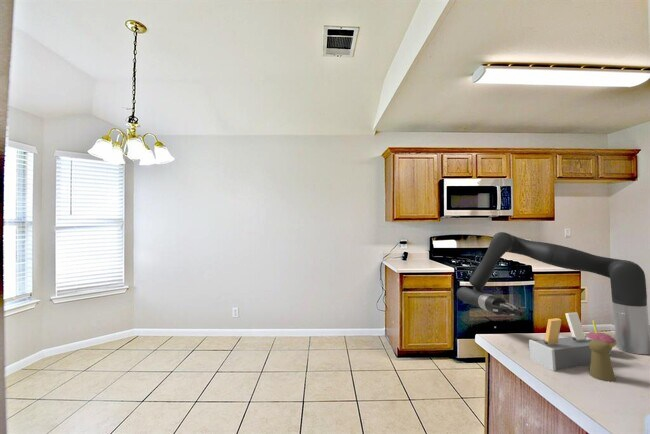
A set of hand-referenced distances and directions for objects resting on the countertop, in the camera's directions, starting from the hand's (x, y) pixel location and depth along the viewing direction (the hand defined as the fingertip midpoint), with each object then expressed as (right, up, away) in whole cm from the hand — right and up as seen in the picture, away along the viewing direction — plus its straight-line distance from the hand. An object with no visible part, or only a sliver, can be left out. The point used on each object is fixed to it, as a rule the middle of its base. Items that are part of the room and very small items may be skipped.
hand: (523, 314), depth 114 cm
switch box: (+8, -13, -10) cm, 19 cm away
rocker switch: (+14, -6, -9) cm, 18 cm away
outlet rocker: (+2, -7, -11) cm, 13 cm away
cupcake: (+26, -13, -4) cm, 29 cm away
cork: (+11, -13, -21) cm, 27 cm away
